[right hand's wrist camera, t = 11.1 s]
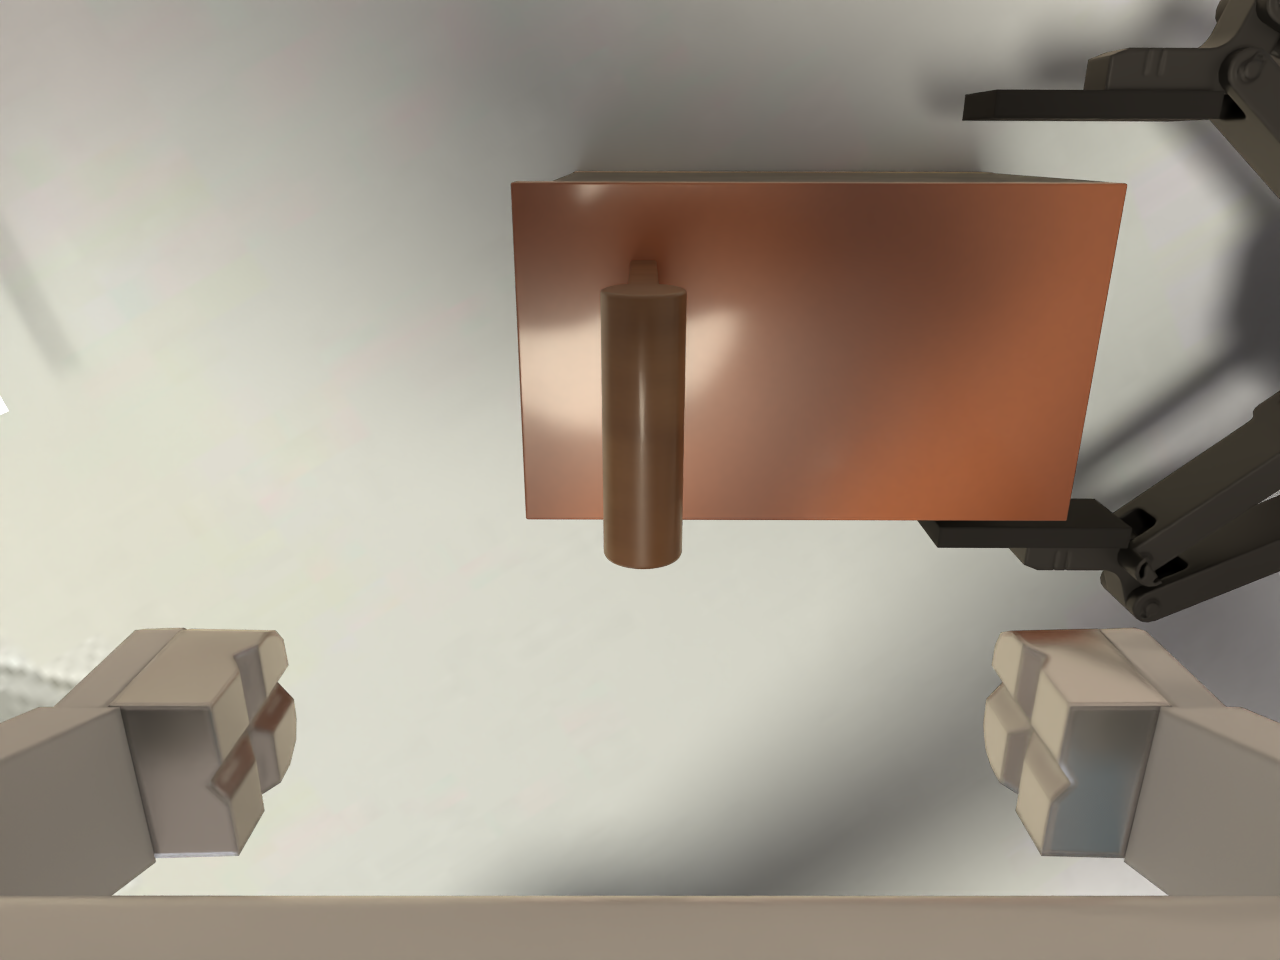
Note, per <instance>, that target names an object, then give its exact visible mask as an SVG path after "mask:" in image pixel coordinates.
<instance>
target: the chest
mask: <svg viewBox="0 0 1280 960" xmlns="http://www.w3.org/2000/svg"><path fill="white" fill-rule="evenodd" d="M554 181H678V182H1100V181H1087V180H1074V179H1061V178H1048V177H1035V176H1023V175H1010V174H997V173H989V172H782V171H575V172H573V173H572V174H569V175H567V176H564V177H562V178H559V179H557V180H554Z"/></svg>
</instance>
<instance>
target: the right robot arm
mask: <svg viewBox="0 0 1280 960" xmlns="http://www.w3.org/2000/svg"><path fill="white" fill-rule="evenodd" d="M7 411H8V409H7V407H6V406H5V404H4V402H3V400H2V399H1V397H0V414H3V413H5V412H7ZM287 667H288V660H287V655H286V650H285V645H284V640H283V638H282V637H281V636H280V635H279V634H278V633H277V631H276V630H232V629H185V628H156V629H141V630H135V631H134V632H133V633H132V634H131V635H130V636H128V637H127V638H126V639H125V640H124V641H123V642H122V643H121V644H120V645H119V646H118V647H117V648H116V649H115V650H114V651H113V652H111V653H110V654H109V655H108V656H107V657H106V658H105V659H104V660H103V661H102V662H101V663H100V664H99V665H98V666H97V667H96V668H94V669H93V670H92V671H91V672H90V673H89V674H88V675H87V676H86V677H85V678H84V679H83V680H82V681H81V682H80V683H79V684H78V685H76V686H75V687H74V688H73V689H72V690H71V691H70V692H69V693H68V694H67V695H66V696H65V697H64V698H63V699H62V700H61V701H59V702H58V703H57V704H56V705H55V706H54V707H38V708H35V709H33V710H31V711H28V712H26V713H23V714H21V715H19V716H16V717H14V718H11V719H9V720H7V721H4V722H2V723H0V960H1280V723H1278V722H1276V721H1273V720H1271V719H1269V718H1266V717H1264V716H1261V715H1259V714H1257V713H1254V712H1252V711H1249V710H1247V709H1245V708H1242V707H1226V706H1225V705H1224V704H1223V703H1222V702H1221V701H1220V700H1219V699H1217V698H1216V697H1215V696H1214V695H1213V694H1212V693H1211V692H1210V691H1209V690H1208V689H1207V688H1206V687H1205V686H1204V685H1203V684H1202V683H1201V682H1199V681H1198V680H1197V679H1196V678H1195V677H1194V676H1193V675H1192V674H1191V673H1190V672H1189V671H1188V670H1187V669H1186V668H1185V667H1184V666H1183V665H1181V664H1180V663H1179V662H1178V661H1177V660H1176V659H1175V658H1174V657H1173V656H1172V655H1171V654H1170V653H1169V652H1168V651H1167V650H1166V649H1165V648H1163V647H1162V646H1161V645H1160V644H1159V643H1158V642H1157V641H1156V640H1155V639H1154V638H1153V637H1152V636H1151V635H1150V634H1149V633H1148V632H1147V631H1144V630H1141V629H1137V628H1113V629H1065V630H1024V631H1007V632H1001V633H1000V635H999V637H998V640H997V642H996V644H995V648H994V654H993V659H992V667H993V668H994V670H995V671H996V673H997V674H998V676H999V677H1000V679H1001V680H1002V683H1001V684H1000V685H999V686H998V687H997V688H996V689H995V690H994V692H993V693H992V694H991V695H990V696H989V697H988V698H987V699H986V705H985V713H984V722H983V729H984V739H985V749H986V753H987V756H988V759H989V762H990V765H991V768H992V770H993V771H994V773H995V775H996V777H997V779H998V781H999V783H1001V784H1003V785H1004V786H1006V787H1007V788H1009V789H1010V790H1012V791H1014V792H1015V793H1017V794H1018V799H1017V805H1016V813H1017V814H1018V816H1019V818H1020V820H1021V821H1022V823H1023V825H1024V826H1025V828H1026V830H1027V832H1028V833H1029V835H1030V837H1031V839H1032V840H1033V842H1034V844H1035V846H1036V847H1037V849H1038V851H1039V852H1040V854H1041V856H1067V857H1104V858H1125V859H1124V862H1125V863H1126V864H1128V865H1129V866H1130V867H1132V868H1133V869H1134V870H1136V871H1137V872H1138V873H1140V874H1141V875H1142V876H1144V877H1145V878H1146V879H1148V880H1149V881H1150V882H1151V883H1153V884H1154V885H1155V886H1157V887H1158V888H1159V889H1161V890H1162V891H1163V892H1165V893H1166V894H1167V895H1169V896H112V895H113V894H114V893H116V892H117V891H118V890H120V889H121V888H122V887H124V886H125V885H126V884H128V883H129V882H130V881H131V880H133V879H134V878H135V877H137V876H138V875H139V874H141V873H142V872H143V871H145V870H146V869H147V868H149V867H150V866H151V865H153V864H154V863H155V862H156V860H155V858H175V857H211V856H239V854H240V853H241V851H242V849H243V847H244V846H245V844H246V842H247V840H248V839H249V837H250V835H251V834H252V832H253V830H254V828H255V827H256V825H257V823H258V821H259V820H260V818H261V816H262V814H263V813H264V805H263V799H262V794H263V793H265V792H266V791H268V790H270V789H271V788H273V787H274V786H276V785H277V784H279V783H281V781H282V779H283V777H284V775H285V773H286V771H287V769H288V768H289V766H290V763H291V759H292V755H293V751H294V746H295V742H296V720H297V718H296V711H295V704H294V699H293V698H292V697H291V696H290V695H289V694H288V693H287V692H286V690H285V689H284V688H283V687H282V686H281V685H280V684H279V683H278V680H279V679H280V677H281V676H282V674H283V673H284V671H285V670H286V668H287Z"/></svg>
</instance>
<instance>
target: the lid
mask: <svg viewBox="0 0 1280 960" xmlns="http://www.w3.org/2000/svg"><path fill="white" fill-rule="evenodd" d="M1126 189H1127V184H1125V183H1113V182H678V181H515V182H512V183H511V200H512V222H513V244H514V266H515V288H516V309H517V331H518V353H519V375H520V397H521V418H522V440H523V462H524V484H525V506H526V518H527V519H603V527H604V554H605V556H606V557H607V559H608V560H609V561H611V562H613V563H614V564H617V565H619V566H623V567H627V568H634V569H653V568H659V567H663V566H667V565H669V564H672V563H673V562H675V561H676V560H677V559H678V558H679V557H680V555H681V553H682V520H1000V521H1066V520H1067V515H1068V510H1069V504H1070V499H1071V493H1072V488H1073V482H1074V477H1075V471H1076V465H1077V460H1078V454H1079V449H1080V443H1081V438H1082V432H1083V427H1084V421H1085V416H1086V410H1087V405H1088V399H1089V394H1090V388H1091V383H1092V377H1093V372H1094V366H1095V361H1096V355H1097V350H1098V344H1099V338H1100V333H1101V327H1102V322H1103V316H1104V311H1105V305H1106V300H1107V294H1108V289H1109V283H1110V278H1111V272H1112V267H1113V261H1114V256H1115V250H1116V245H1117V239H1118V234H1119V228H1120V222H1121V217H1122V211H1123V206H1124V200H1125V195H1126Z"/></svg>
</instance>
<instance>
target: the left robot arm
mask: <svg viewBox="0 0 1280 960" xmlns="http://www.w3.org/2000/svg"><path fill="white" fill-rule="evenodd" d="M1215 19H1216V22H1217V24H1216V26H1215V28H1214V30H1213V32H1212V34H1211V35H1210V37H1209V38H1208V40H1207V41H1206V42H1205V43H1204V44H1203V45H1202V46H1200V47H1199V48H1126V49H1121V50H1116V51H1111V52H1106V53H1104V54H1101V55H1099V56H1096V57H1094V58H1091V59H1089V60H1088V65H1087V71H1086V77H1085V83H1084V90H992V91H986V92H979V93H973V94H967V95H965V103H964V111H963V120H968V121H1187V120H1207V119H1209V120H1210V121H1211V122H1212V123H1213V124H1214V125H1215V127H1216V128H1217V129H1218V130H1219V131H1220V132H1221V133H1222V134H1223V136H1224V137H1225V138H1226V139H1227V140H1228V141H1229V142H1230V144H1231V145H1232V146H1233V147H1234V148H1235V149H1236V150H1237V151H1238V153H1239V154H1240V155H1241V156H1242V157H1243V158H1244V159H1245V161H1246V162H1247V163H1248V164H1249V165H1250V166H1251V167H1252V168H1253V170H1254V171H1255V172H1256V173H1257V174H1258V175H1259V176H1260V177H1261V179H1262V180H1263V181H1264V182H1265V183H1266V184H1267V185H1268V187H1269V188H1270V189H1271V190H1272V191H1273V192H1274V193H1275V194H1276V196H1277V197H1278V198H1279V199H1280V0H1221V1H1220V2H1219V5H1218V7H1217V9H1216V17H1215ZM1278 490H1280V391H1279V392H1277V393H1276V394H1274V395H1273V396H1271V397H1270V398H1268V399H1267V400H1265V401H1264V402H1262V403H1261V404H1259V405H1258V406H1257V407H1256V408H1255V409H1254V411H1253V418H1252V419H1251V420H1250V421H1249V422H1248V423H1246V424H1245V425H1243V426H1242V427H1240V428H1239V429H1237V430H1236V431H1234V432H1233V433H1231V434H1230V435H1228V436H1227V437H1225V438H1224V439H1222V440H1221V441H1219V442H1218V443H1216V444H1215V445H1213V446H1212V447H1210V448H1209V449H1207V450H1206V451H1204V452H1203V453H1201V454H1200V455H1199V456H1197V457H1196V458H1194V459H1193V460H1191V461H1190V462H1188V463H1187V464H1185V465H1184V466H1182V467H1181V468H1179V469H1178V470H1176V471H1175V472H1173V473H1172V474H1170V475H1169V476H1167V477H1166V478H1164V479H1163V480H1161V481H1160V482H1158V483H1157V484H1155V485H1154V486H1152V487H1151V488H1149V489H1148V490H1147V491H1145V492H1144V493H1142V494H1141V495H1139V496H1138V497H1136V498H1135V499H1133V500H1132V501H1130V502H1129V503H1127V504H1126V505H1124V506H1123V507H1121V508H1120V509H1118V510H1117V511H1115V512H1114V513H1112V512H1111V511H1109V510H1108V509H1107V508H1106V507H1104V506H1103V505H1102V504H1100V503H1099V502H1098V501H1097V500H1095V499H1070V504H1069V510H1068V515H1067V520H1066V521H1000V520H917V521H918V522H919V523H920V525H921V526H922V527H923V529H924V530H925V531H926V533H927V534H928V535H929V537H930V538H931V539H932V541H933V542H934V543H935V545H936V546H937V547H938V548H1009V549H1010V550H1011V551H1012V552H1013V553H1014V554H1015V555H1016V556H1017V557H1018V559H1019V560H1020V561H1021V562H1022V563H1023V564H1024V565H1026V566H1029V567H1031V568H1034V569H1036V570H1053V569H1054V570H1104V571H1103V572H1102V574H1101V577H1100V579H1101V584H1102V585H1103V587H1104V588H1105V589H1106V590H1107V591H1108V592H1109V593H1110V594H1111V595H1112V596H1113V597H1114V598H1115V599H1117V600H1118V601H1119V602H1120V603H1121V604H1122V605H1123V606H1124V607H1125V608H1126V609H1127V610H1128V611H1129V612H1130V613H1131V614H1132V615H1133V616H1134V617H1135V618H1137V619H1138V620H1140V621H1142V622H1152V621H1156V620H1158V619H1161V618H1163V617H1166V616H1168V615H1171V614H1173V613H1176V612H1178V611H1181V610H1183V609H1186V608H1188V607H1191V606H1193V605H1196V604H1198V603H1201V602H1203V601H1206V600H1208V599H1211V598H1213V597H1216V596H1219V595H1221V594H1224V593H1226V592H1229V591H1231V590H1234V589H1236V588H1239V587H1241V586H1244V585H1246V584H1249V583H1251V582H1254V581H1256V580H1259V579H1261V578H1264V577H1266V576H1269V575H1271V574H1274V573H1276V572H1279V571H1280V495H1279V496H1276V497H1274V498H1271V499H1269V500H1267V501H1264V502H1262V503H1260V502H1261V501H1263V500H1264V499H1266V498H1267V497H1269V496H1271V495H1272V494H1274V493H1275V492H1277V491H1278ZM1258 503H1259V504H1258Z"/></svg>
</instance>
